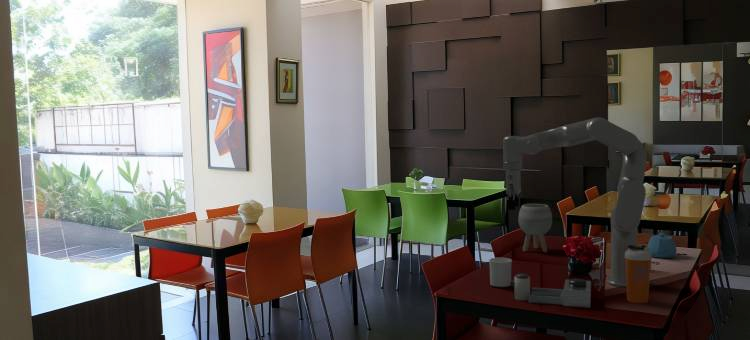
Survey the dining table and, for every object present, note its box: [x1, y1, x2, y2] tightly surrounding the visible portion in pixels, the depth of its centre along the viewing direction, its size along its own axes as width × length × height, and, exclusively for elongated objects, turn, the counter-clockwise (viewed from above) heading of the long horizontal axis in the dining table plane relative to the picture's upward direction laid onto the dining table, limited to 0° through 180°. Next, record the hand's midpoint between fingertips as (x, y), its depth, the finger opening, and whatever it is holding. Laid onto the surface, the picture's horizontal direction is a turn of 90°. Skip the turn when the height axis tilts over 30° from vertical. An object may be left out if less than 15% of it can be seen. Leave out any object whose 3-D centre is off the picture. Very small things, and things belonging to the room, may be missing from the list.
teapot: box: [646, 232, 678, 259], centre depth 303 cm, size 13×11×18 cm
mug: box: [488, 257, 513, 289], centre depth 261 cm, size 11×9×10 cm
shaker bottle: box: [625, 244, 652, 304], centre depth 235 cm, size 9×9×20 cm
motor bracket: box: [528, 278, 592, 309], centre depth 240 cm, size 21×17×8 cm
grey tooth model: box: [517, 203, 553, 253], centre depth 322 cm, size 16×16×22 cm
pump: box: [510, 273, 531, 302], centre depth 242 cm, size 7×6×9 cm
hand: (512, 208), depth 268 cm, fingers open, 9 cm apart
